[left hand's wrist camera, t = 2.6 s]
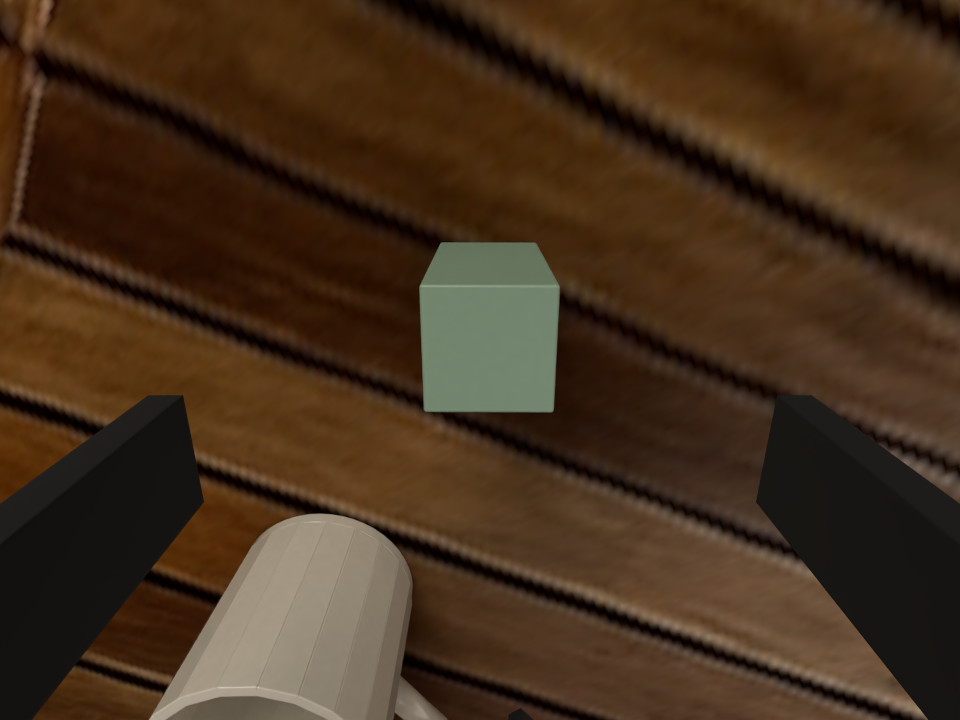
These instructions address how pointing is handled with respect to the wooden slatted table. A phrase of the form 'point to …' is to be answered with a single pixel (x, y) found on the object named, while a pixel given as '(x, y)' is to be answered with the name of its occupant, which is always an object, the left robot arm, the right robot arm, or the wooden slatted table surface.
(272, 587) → the mug
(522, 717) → the right robot arm
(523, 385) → the block
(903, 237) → the wooden slatted table surface
